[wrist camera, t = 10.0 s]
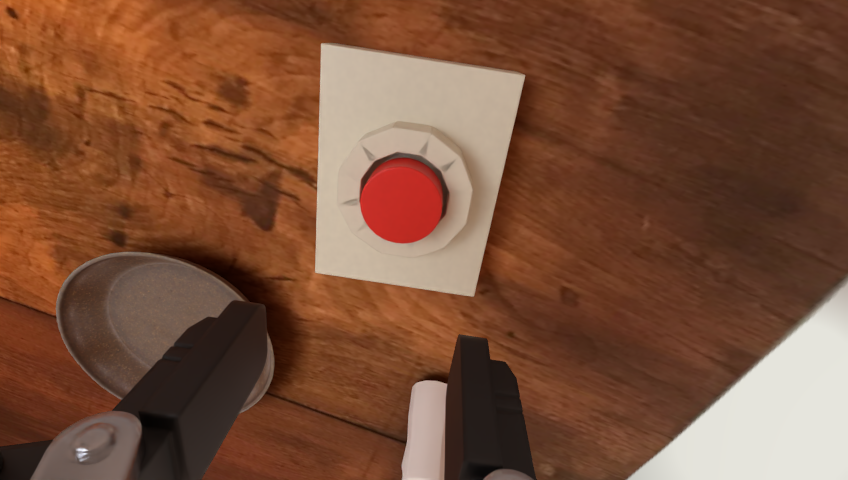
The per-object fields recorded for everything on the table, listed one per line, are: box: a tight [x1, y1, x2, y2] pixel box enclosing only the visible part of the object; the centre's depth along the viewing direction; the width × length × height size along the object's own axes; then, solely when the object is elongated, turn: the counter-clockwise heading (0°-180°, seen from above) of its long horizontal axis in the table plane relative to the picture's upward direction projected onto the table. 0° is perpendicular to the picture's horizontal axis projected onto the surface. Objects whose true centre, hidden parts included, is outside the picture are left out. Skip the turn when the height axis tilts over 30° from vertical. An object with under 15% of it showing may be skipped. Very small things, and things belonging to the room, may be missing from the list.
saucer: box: [56, 252, 274, 414], centre depth 29 cm, size 15×15×3 cm
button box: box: [315, 43, 525, 297], centre depth 23 cm, size 13×10×4 cm
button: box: [360, 158, 443, 244], centre depth 21 cm, size 4×4×2 cm
